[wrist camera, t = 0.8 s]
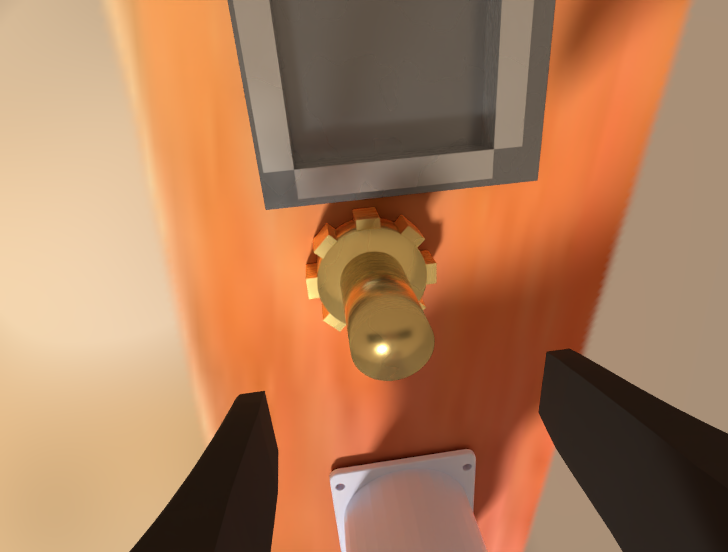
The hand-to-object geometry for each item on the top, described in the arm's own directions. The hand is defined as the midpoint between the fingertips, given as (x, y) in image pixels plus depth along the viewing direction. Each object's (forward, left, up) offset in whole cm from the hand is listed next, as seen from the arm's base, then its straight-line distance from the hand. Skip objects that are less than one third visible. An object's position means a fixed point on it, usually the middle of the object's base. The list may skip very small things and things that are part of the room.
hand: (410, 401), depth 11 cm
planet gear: (0, 0, -8) cm, 9 cm away
